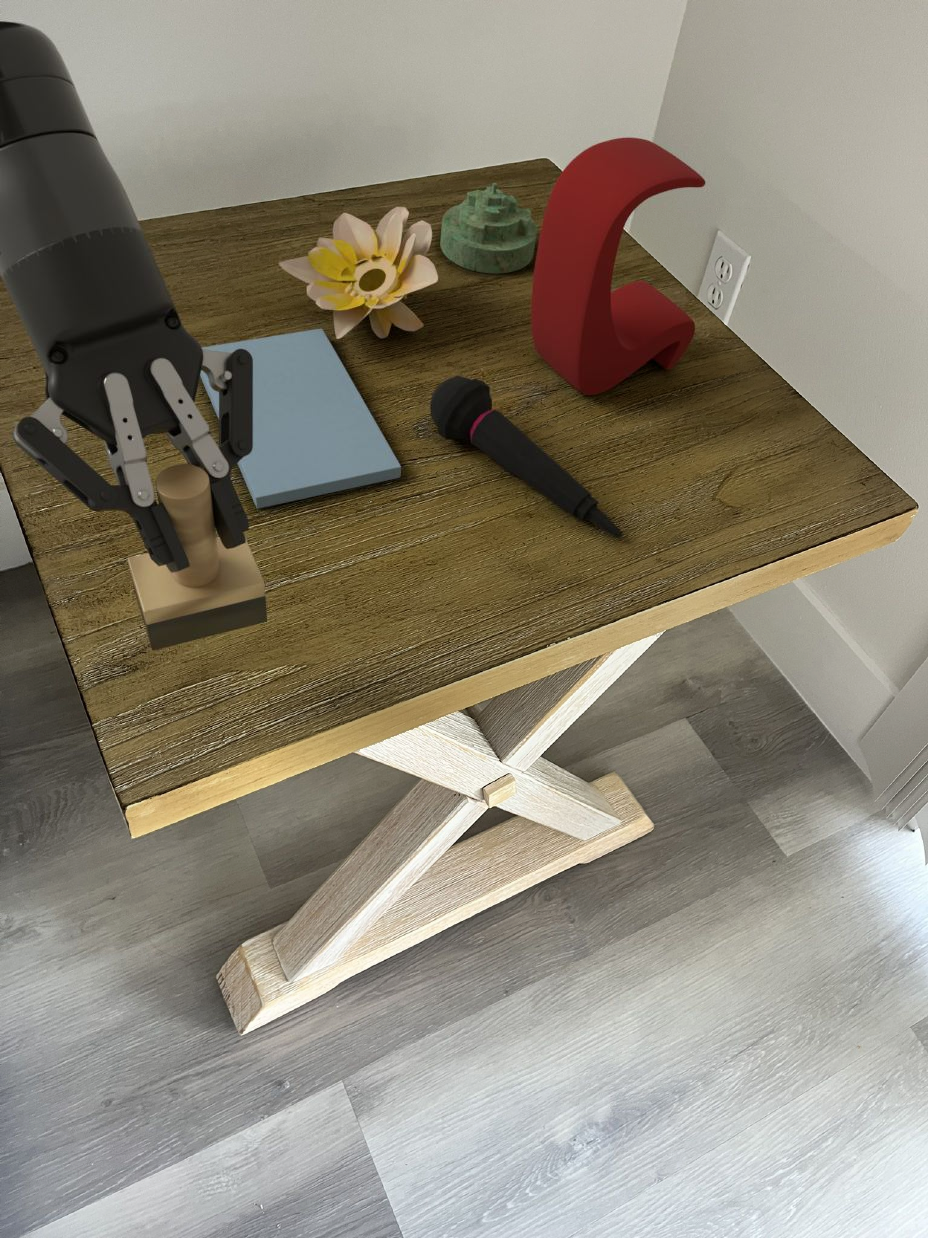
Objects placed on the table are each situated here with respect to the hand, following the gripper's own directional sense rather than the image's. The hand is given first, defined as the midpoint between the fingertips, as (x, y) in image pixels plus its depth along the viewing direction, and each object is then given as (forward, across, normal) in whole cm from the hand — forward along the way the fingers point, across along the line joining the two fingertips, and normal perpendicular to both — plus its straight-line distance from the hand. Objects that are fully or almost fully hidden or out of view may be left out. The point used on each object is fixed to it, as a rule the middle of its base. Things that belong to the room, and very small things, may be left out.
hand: (208, 556), depth 55 cm
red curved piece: (-1, +48, +19) cm, 51 cm away
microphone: (+5, +30, +14) cm, 34 cm away
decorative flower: (-14, +33, +33) cm, 49 cm away
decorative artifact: (-16, +51, +35) cm, 64 cm away
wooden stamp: (+3, 0, +6) cm, 7 cm away
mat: (-7, +19, +25) cm, 32 cm away
